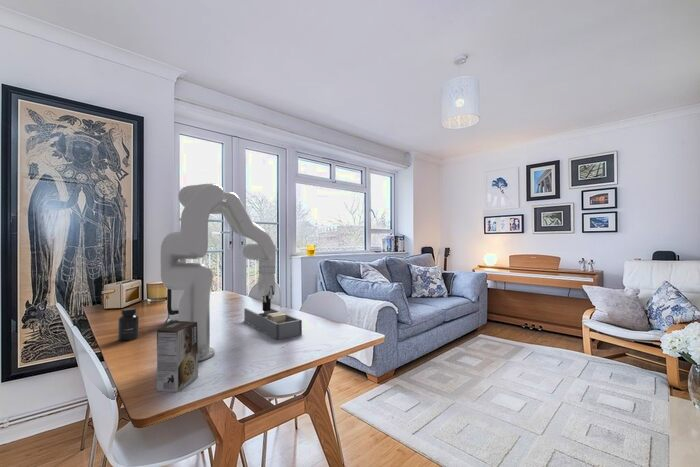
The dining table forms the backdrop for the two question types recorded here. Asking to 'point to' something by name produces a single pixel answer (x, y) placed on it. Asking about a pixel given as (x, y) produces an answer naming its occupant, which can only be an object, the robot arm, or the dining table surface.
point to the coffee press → (173, 304)
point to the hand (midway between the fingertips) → (266, 310)
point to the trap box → (274, 324)
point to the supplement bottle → (128, 325)
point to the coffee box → (177, 356)
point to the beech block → (277, 317)
